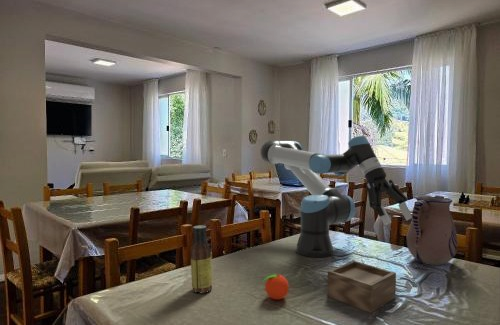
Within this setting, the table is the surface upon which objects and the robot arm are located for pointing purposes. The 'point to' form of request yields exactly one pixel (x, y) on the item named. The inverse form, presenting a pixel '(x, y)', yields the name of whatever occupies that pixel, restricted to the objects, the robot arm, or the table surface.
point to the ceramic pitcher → (432, 231)
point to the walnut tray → (361, 285)
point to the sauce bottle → (201, 261)
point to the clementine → (276, 286)
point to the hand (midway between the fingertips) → (399, 221)
